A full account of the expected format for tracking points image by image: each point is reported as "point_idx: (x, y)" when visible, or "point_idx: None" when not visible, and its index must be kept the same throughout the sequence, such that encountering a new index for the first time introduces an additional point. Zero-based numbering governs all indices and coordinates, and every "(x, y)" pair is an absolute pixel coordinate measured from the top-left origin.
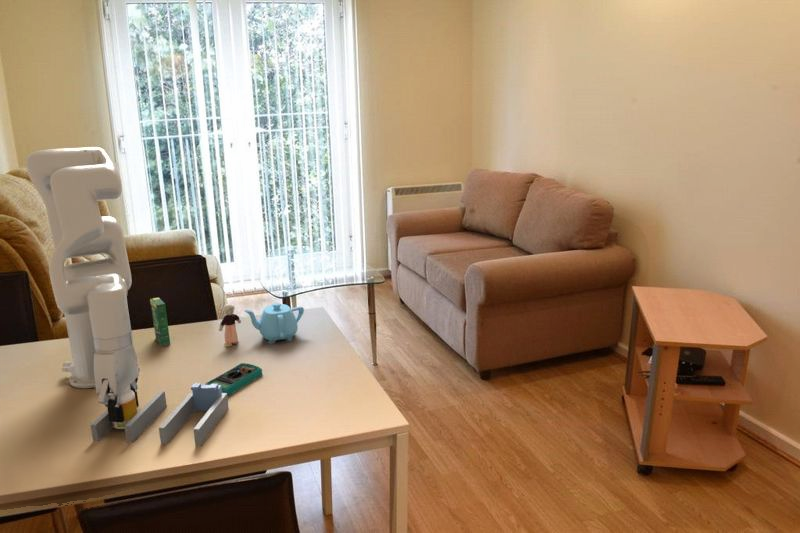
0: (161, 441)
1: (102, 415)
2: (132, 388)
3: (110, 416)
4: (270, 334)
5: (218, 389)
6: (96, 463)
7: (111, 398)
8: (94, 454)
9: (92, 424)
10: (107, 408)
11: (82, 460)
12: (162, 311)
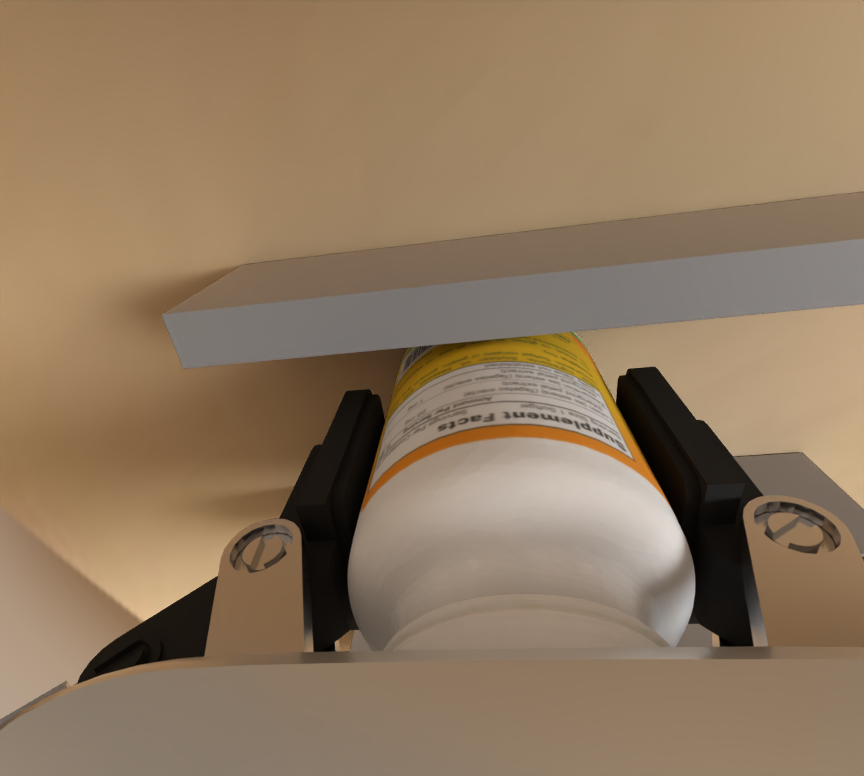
0: (353, 643)
1: (361, 312)
2: (719, 644)
3: (308, 463)
4: None
5: None
6: (79, 447)
7: (364, 579)
8: (132, 381)
9: (178, 330)
10: (309, 476)
11: (48, 352)
12: None
